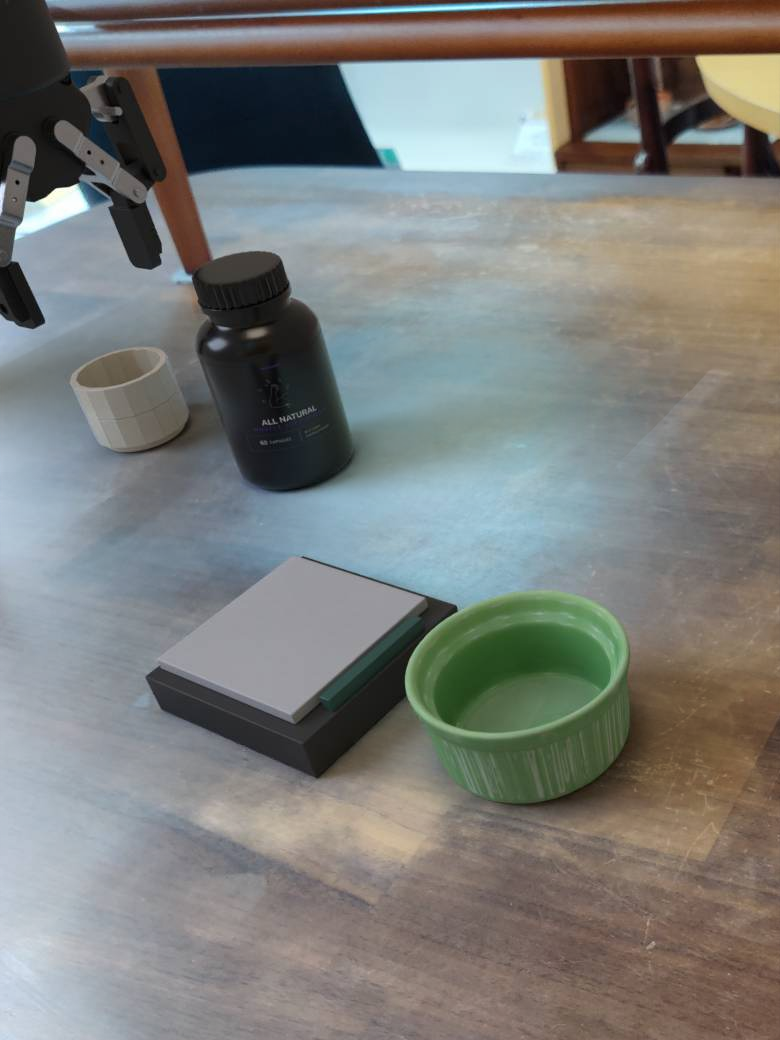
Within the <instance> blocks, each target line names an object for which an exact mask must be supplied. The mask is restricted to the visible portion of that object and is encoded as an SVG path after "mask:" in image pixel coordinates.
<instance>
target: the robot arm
mask: <svg viewBox="0 0 780 1040" xmlns="http://www.w3.org/2000/svg"><path fill="white" fill-rule="evenodd" d="M50 11H51V10H50V9H49V6H48V3H47V0H0V316H2V318H3V319H4V320H5V321H8V322H13V323H14V324H15V325H16V326H17V327H20V328H23V329H24V328H25V329H29V330H35V329H37V328H39V327H41V326H43V325H45V324H46V318H45V316H44V313H43V312H42V310H41V308H40V305H39V303H38V301H37V299H36V297H35V295H34V293H33V290H32V288H31V286H30V284H29V282H28V280H27V277H26V276H25V273H24V271H23V269H22V267H21V265H20V263H19V261H15V260H13V258H12V257H13V252H14V245H15V239H16V234H17V233H16V232H17V228H18V227H19V226H20V225H21V224H22V223H23V221H24V216H25V209H26V203H27V202H28V203H37V202H39V201H41V200H43V199H45V198H47V197H48V196H49V195H51V194H52V193H53V192H54V191H55V190H56V189H65V188H71V187H73V186H76V185H78V184H80V183H81V182H84V183H85V184H87V185H89V186H90V187H92V188H93V189H94V190H96V192H98V193H100V194H101V195H103V196H104V197H105V198H107V199H108V200H110V201H111V202H112V204H111V205H109V206H108V207H107V209H108V212H109V214H110V216H111V219H112V221H113V224H114V226H115V228H116V231H117V233H118V236H119V238H120V241H121V243H122V246H123V248H124V251H125V253H126V256H127V258H128V260H129V262H130V264H132V266H133V267H135V268H137V269H142V270H148V271H151V270H154V269H156V268H157V267H160V266H161V265H162V264H163V263H162V262H163V260H162V258H161V255H162V253H163V243H162V241H161V238H160V236H159V234H158V233H159V232H158V230H157V228H156V224H155V222H154V220H153V217H152V215H151V213H150V210H149V207H148V204H147V198H148V193H149V191H150V190H151V188H152V187H154V185H155V184H156V183H162V182H164V181H165V179H166V178H167V174H168V173H167V171H168V170H167V167H166V165H165V162H164V160H163V157H162V156H161V153H160V150H159V149H158V146H157V144H156V141H155V139H154V137H153V134H152V131H151V129H150V127H149V125H148V123H147V121H146V117H145V116H144V113H143V111H142V109H141V106H140V104H139V101H138V99H137V97H136V94H135V92H134V90H133V88H132V85H131V82H130V81H129V80H128V79H127V78H125V77H123V76H115V75H91V76H90V77H88V79H87V81H86V85H84V86H82V87H80V88H79V87H78V86H77V85H76V83H75V82H74V80H73V78H72V76H71V72H70V70H71V62H70V59H69V55H68V53H67V51H66V49H65V46H64V44H63V41H62V39H61V36H60V34H59V31H58V29H57V26H56V24H55V21H54V19H53V16H52V14H51V12H50ZM92 115H93V117H94V118H95V119H96V120H97V121H99V122H101V124H102V126H103V128H104V130H105V132H106V135H107V137H108V139H109V141H110V143H111V146H112V148H113V150H114V153H115V155H116V157H117V159H118V160H117V159H116V158H115V157H113V156H112V155H110V154H109V153H108V152H106V151H105V150H103V149H102V148H101V147H100V146H98V145H97V144H96V143H95V142H93V141H92V140H91V139H89V137H90V129H91V121H92Z"/></svg>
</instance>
